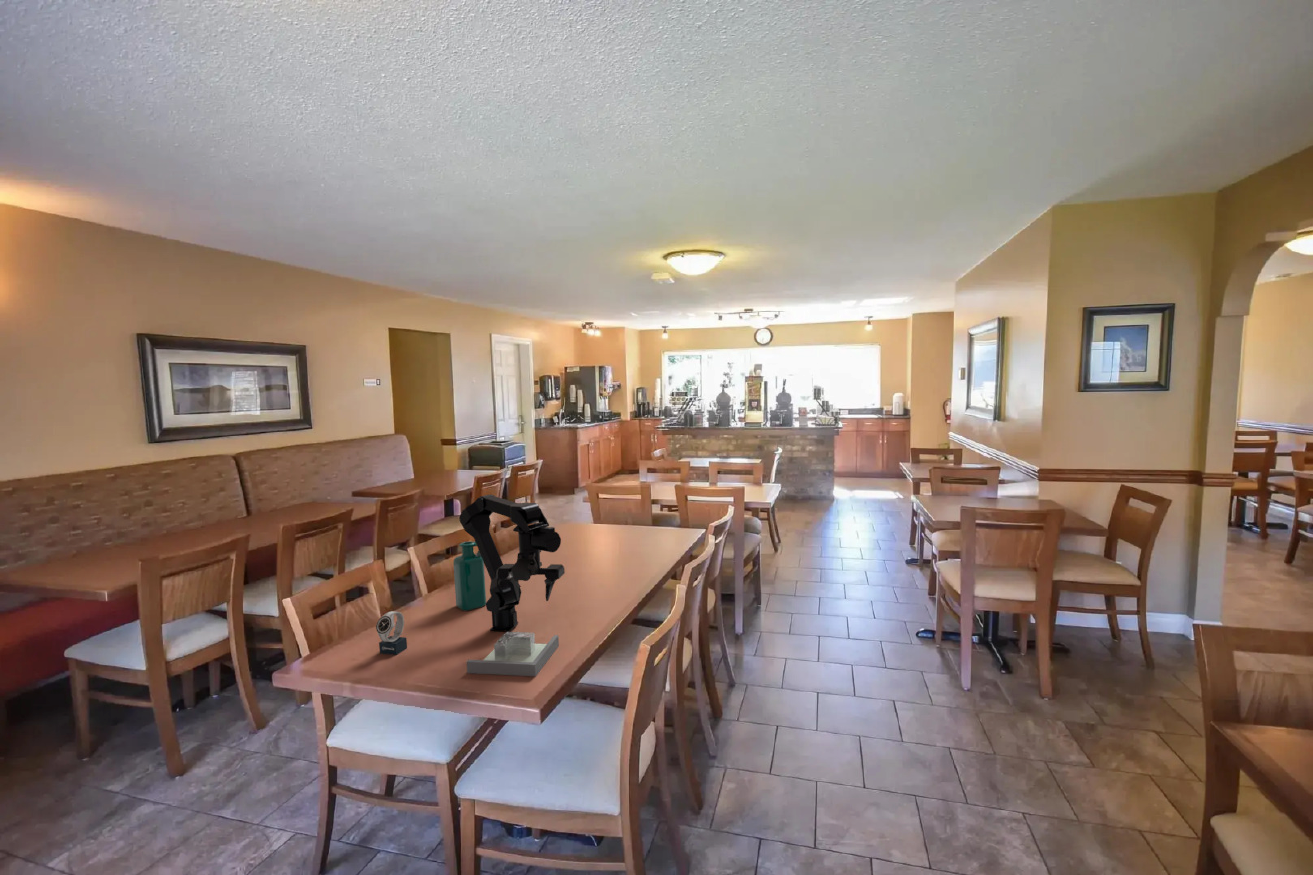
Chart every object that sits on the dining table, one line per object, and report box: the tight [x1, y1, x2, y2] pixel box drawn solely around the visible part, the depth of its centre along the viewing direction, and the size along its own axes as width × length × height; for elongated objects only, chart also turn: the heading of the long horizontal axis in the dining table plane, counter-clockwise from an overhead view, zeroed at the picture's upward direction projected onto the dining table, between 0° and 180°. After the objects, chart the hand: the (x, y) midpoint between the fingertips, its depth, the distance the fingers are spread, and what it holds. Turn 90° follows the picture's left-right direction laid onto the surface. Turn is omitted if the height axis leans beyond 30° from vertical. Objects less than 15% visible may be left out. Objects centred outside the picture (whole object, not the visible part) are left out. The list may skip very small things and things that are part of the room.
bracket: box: [493, 631, 536, 661], centre depth 151 cm, size 8×8×5 cm
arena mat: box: [483, 643, 548, 662], centre depth 152 cm, size 16×16×1 cm
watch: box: [375, 610, 408, 656], centre depth 159 cm, size 6×8×11 cm
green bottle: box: [453, 540, 487, 612], centre depth 192 cm, size 10×8×22 cm
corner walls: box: [465, 634, 560, 677], centre depth 151 cm, size 18×17×3 cm
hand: (532, 600), depth 164 cm, fingers open, 9 cm apart
